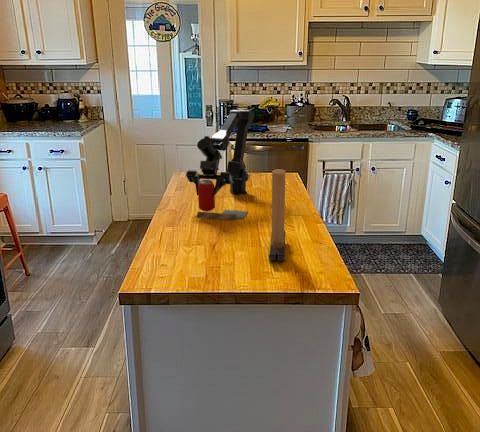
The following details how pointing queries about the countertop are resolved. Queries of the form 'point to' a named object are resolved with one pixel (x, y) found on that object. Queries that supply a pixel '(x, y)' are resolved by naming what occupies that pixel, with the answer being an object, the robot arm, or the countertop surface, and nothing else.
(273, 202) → the hammer
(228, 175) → the robot arm
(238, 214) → the end pad
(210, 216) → the rail
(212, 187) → the beverage can
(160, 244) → the countertop surface
